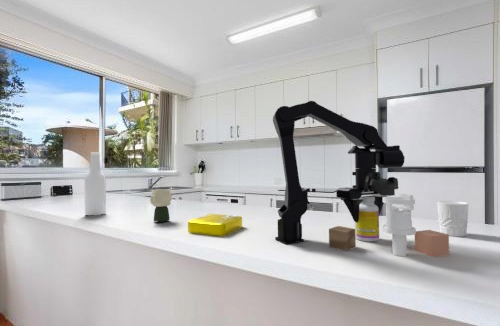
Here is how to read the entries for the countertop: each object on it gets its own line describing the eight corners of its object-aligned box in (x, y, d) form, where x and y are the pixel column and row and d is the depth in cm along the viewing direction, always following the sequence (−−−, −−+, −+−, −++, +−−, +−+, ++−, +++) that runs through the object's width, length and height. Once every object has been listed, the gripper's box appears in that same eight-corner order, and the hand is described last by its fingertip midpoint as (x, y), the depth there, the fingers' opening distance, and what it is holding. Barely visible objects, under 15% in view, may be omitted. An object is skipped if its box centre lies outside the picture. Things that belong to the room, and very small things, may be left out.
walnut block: (346, 251, 68) (345, 232, 68) (329, 247, 72) (328, 228, 72) (355, 247, 71) (355, 228, 71) (338, 243, 75) (338, 225, 75)
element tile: (210, 224, 103) (209, 212, 103) (244, 228, 97) (244, 215, 97) (185, 233, 90) (185, 219, 90) (223, 238, 83) (223, 223, 83)
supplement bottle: (382, 242, 75) (381, 197, 75) (357, 241, 76) (356, 197, 76) (375, 236, 81) (375, 195, 81) (353, 235, 82) (352, 194, 83)
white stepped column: (403, 260, 61) (401, 195, 61) (377, 251, 67) (376, 193, 67) (423, 256, 63) (421, 194, 64) (396, 248, 70) (395, 191, 70)
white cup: (464, 232, 85) (463, 201, 85) (472, 238, 78) (472, 204, 78) (435, 230, 88) (434, 200, 88) (440, 235, 81) (439, 203, 81)
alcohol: (109, 213, 128) (109, 152, 129) (91, 216, 121) (90, 151, 121) (99, 212, 133) (99, 153, 133) (81, 215, 125) (80, 152, 126)
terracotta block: (433, 257, 63) (433, 236, 63) (415, 250, 68) (414, 231, 68) (449, 254, 64) (448, 234, 64) (429, 248, 69) (429, 229, 69)
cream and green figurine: (165, 218, 114) (165, 188, 115) (177, 219, 111) (177, 189, 111) (144, 223, 105) (144, 191, 105) (157, 225, 101) (157, 191, 102)
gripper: (366, 169, 67) (367, 230, 67) (411, 168, 76) (412, 222, 76) (334, 169, 77) (335, 222, 77) (377, 168, 86) (378, 216, 86)
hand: (366, 220), depth 79 cm, fingers open, 8 cm apart
